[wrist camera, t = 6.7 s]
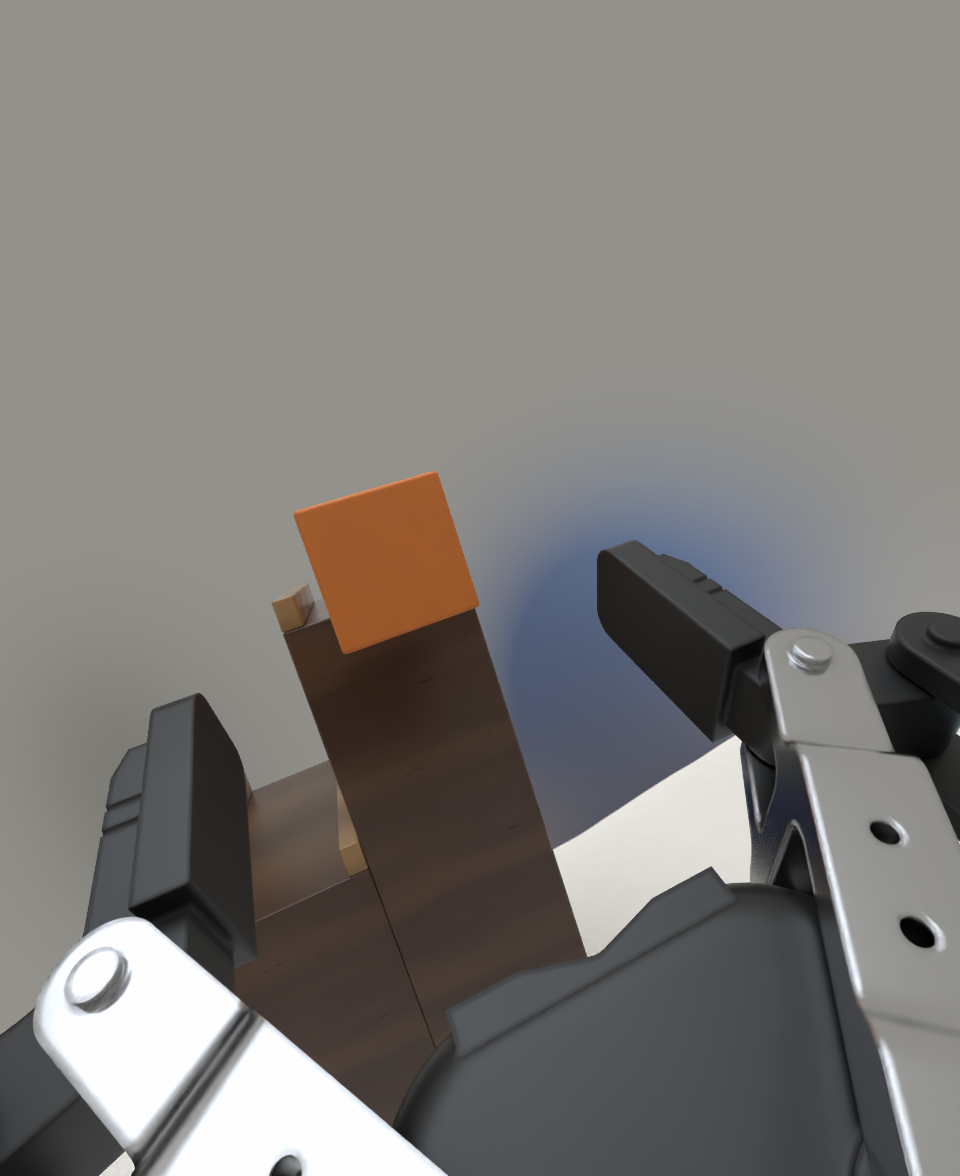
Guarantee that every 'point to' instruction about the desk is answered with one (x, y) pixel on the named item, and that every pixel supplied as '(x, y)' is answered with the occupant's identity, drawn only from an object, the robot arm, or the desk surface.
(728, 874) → the desk surface
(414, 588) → the orange block
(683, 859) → the desk surface
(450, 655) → the display stand
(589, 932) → the desk surface
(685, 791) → the desk surface
